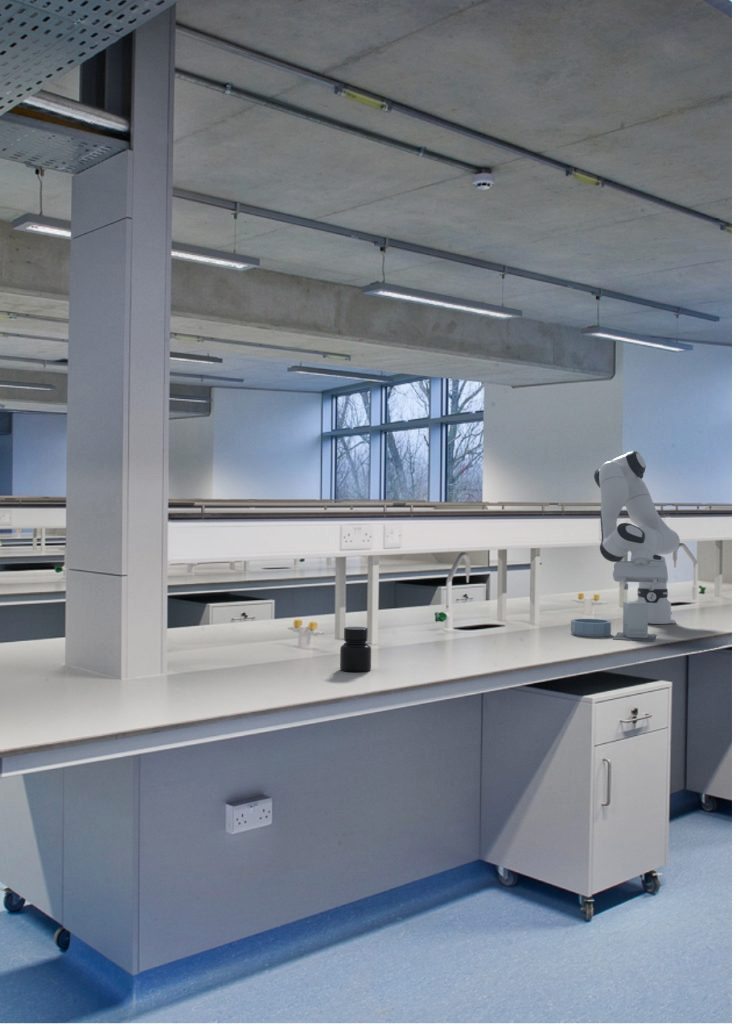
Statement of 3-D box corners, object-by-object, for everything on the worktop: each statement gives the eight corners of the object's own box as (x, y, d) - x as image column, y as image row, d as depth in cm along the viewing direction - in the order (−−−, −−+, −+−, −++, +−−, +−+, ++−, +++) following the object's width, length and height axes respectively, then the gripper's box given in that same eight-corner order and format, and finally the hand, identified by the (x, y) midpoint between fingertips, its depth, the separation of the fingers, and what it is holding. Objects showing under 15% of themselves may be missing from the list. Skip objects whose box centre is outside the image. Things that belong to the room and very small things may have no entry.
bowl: (574, 630, 359) (574, 617, 359) (612, 633, 354) (612, 619, 354) (568, 635, 345) (568, 622, 345) (608, 637, 340) (608, 624, 340)
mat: (618, 632, 355) (618, 632, 355) (656, 634, 350) (656, 634, 350) (612, 639, 336) (612, 638, 336) (653, 641, 331) (653, 641, 331)
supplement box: (648, 638, 339) (648, 603, 339) (627, 637, 339) (627, 603, 339) (642, 635, 346) (642, 601, 346) (622, 635, 347) (622, 601, 346)
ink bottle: (373, 667, 271) (373, 626, 271) (371, 673, 263) (371, 630, 263) (340, 667, 272) (340, 625, 272) (337, 672, 263) (337, 629, 263)
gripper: (613, 555, 364) (609, 582, 355) (668, 557, 356) (665, 584, 347) (615, 566, 368) (611, 593, 359) (670, 568, 360) (666, 595, 351)
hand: (638, 589), depth 353 cm, fingers open, 8 cm apart
